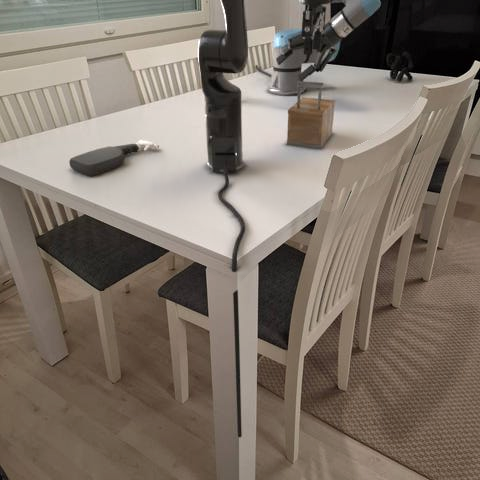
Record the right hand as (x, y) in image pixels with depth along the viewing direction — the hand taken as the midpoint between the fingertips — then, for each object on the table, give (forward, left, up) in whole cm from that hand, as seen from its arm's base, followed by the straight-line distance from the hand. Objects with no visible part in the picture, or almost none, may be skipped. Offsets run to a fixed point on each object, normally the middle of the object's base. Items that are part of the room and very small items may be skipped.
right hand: (288, 70), depth 163 cm
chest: (+39, +2, -12) cm, 41 cm away
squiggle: (-35, +55, -12) cm, 66 cm away
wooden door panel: (+39, +2, -3) cm, 39 cm away
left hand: (+43, 0, +13) cm, 45 cm away
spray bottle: (+52, -54, -12) cm, 76 cm away
